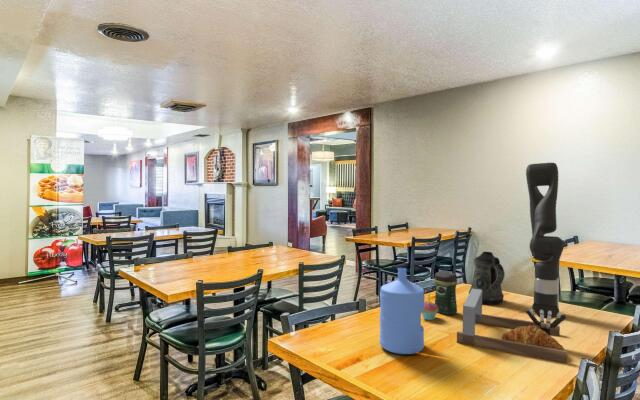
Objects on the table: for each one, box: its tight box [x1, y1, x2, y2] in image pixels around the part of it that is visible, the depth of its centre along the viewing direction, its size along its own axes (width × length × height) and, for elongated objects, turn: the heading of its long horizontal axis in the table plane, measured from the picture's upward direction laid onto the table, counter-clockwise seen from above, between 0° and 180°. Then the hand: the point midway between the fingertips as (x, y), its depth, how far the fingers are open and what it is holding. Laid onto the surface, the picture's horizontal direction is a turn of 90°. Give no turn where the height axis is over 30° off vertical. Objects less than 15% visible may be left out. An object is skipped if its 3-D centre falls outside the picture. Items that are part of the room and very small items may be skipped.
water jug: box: [379, 267, 426, 355], centre depth 134 cm, size 16×16×28 cm
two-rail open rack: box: [456, 289, 568, 364], centre depth 141 cm, size 28×34×14 cm
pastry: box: [501, 325, 565, 350], centre depth 132 cm, size 21×13×8 cm, turn 50°
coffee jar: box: [434, 271, 458, 316], centre depth 172 cm, size 10×8×19 cm
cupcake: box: [421, 293, 439, 321], centre depth 164 cm, size 9×8×12 cm
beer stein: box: [468, 251, 505, 306], centre depth 190 cm, size 16×19×25 cm
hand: (545, 337), depth 136 cm, fingers closed
